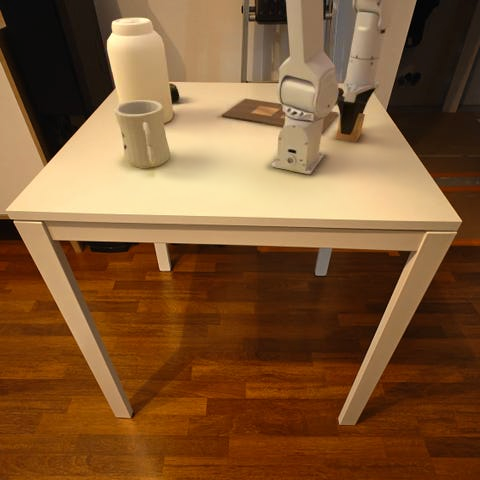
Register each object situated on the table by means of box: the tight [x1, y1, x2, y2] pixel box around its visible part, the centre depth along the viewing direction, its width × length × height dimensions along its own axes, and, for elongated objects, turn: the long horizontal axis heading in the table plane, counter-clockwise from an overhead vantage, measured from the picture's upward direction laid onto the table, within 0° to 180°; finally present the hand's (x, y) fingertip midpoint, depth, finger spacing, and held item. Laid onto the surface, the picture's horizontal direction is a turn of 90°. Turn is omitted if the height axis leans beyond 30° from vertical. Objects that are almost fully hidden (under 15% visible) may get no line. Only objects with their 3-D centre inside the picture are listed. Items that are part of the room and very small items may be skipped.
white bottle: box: [106, 17, 174, 124], centre depth 83 cm, size 12×12×20 cm
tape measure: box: [169, 82, 181, 102], centre depth 98 cm, size 7×7×4 cm
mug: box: [114, 100, 171, 169], centre depth 69 cm, size 12×9×10 cm
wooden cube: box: [335, 113, 366, 143], centre depth 80 cm, size 4×4×5 cm
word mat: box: [221, 98, 339, 133], centre depth 91 cm, size 14×26×1 cm, turn 64°
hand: (350, 127), depth 80 cm, fingers open, 7 cm apart
